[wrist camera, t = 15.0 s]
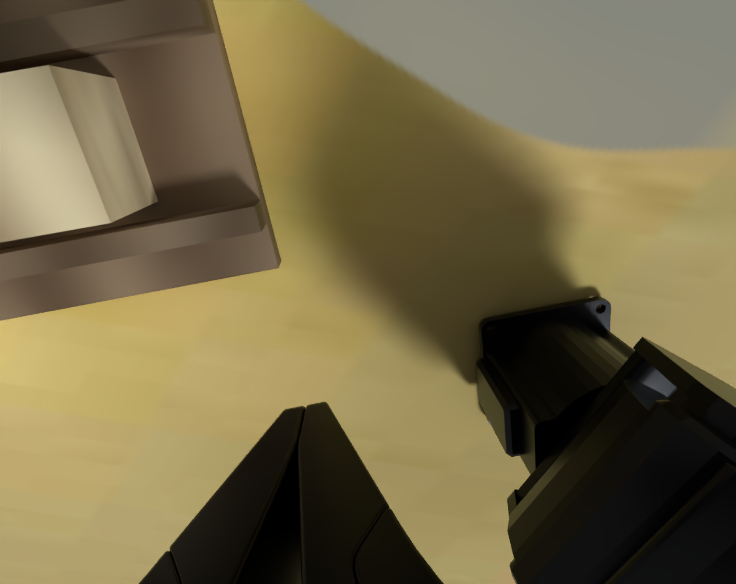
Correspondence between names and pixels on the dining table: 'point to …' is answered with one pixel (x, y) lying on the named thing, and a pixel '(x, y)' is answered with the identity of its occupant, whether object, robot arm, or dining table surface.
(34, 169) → the beige rectangular block
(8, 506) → the dining table surface
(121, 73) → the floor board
